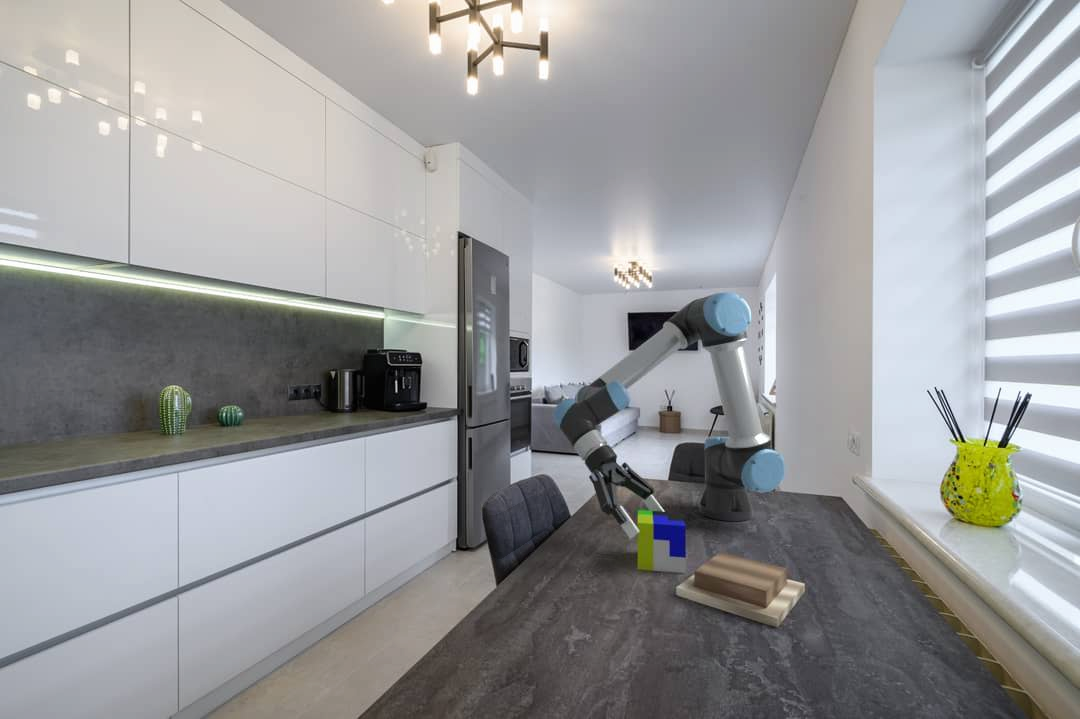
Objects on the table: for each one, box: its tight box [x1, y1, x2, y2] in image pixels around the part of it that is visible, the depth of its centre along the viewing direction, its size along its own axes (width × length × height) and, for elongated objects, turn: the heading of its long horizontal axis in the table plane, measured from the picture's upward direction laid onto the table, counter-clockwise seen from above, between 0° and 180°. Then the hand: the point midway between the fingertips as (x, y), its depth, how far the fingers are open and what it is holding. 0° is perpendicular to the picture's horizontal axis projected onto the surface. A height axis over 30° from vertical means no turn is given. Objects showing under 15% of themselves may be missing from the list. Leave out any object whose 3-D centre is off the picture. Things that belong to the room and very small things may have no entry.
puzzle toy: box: [637, 509, 687, 574], centre depth 111 cm, size 10×10×10 cm
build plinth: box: [675, 551, 806, 628], centre depth 95 cm, size 18×18×4 cm
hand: (650, 528), depth 112 cm, fingers open, 13 cm apart
